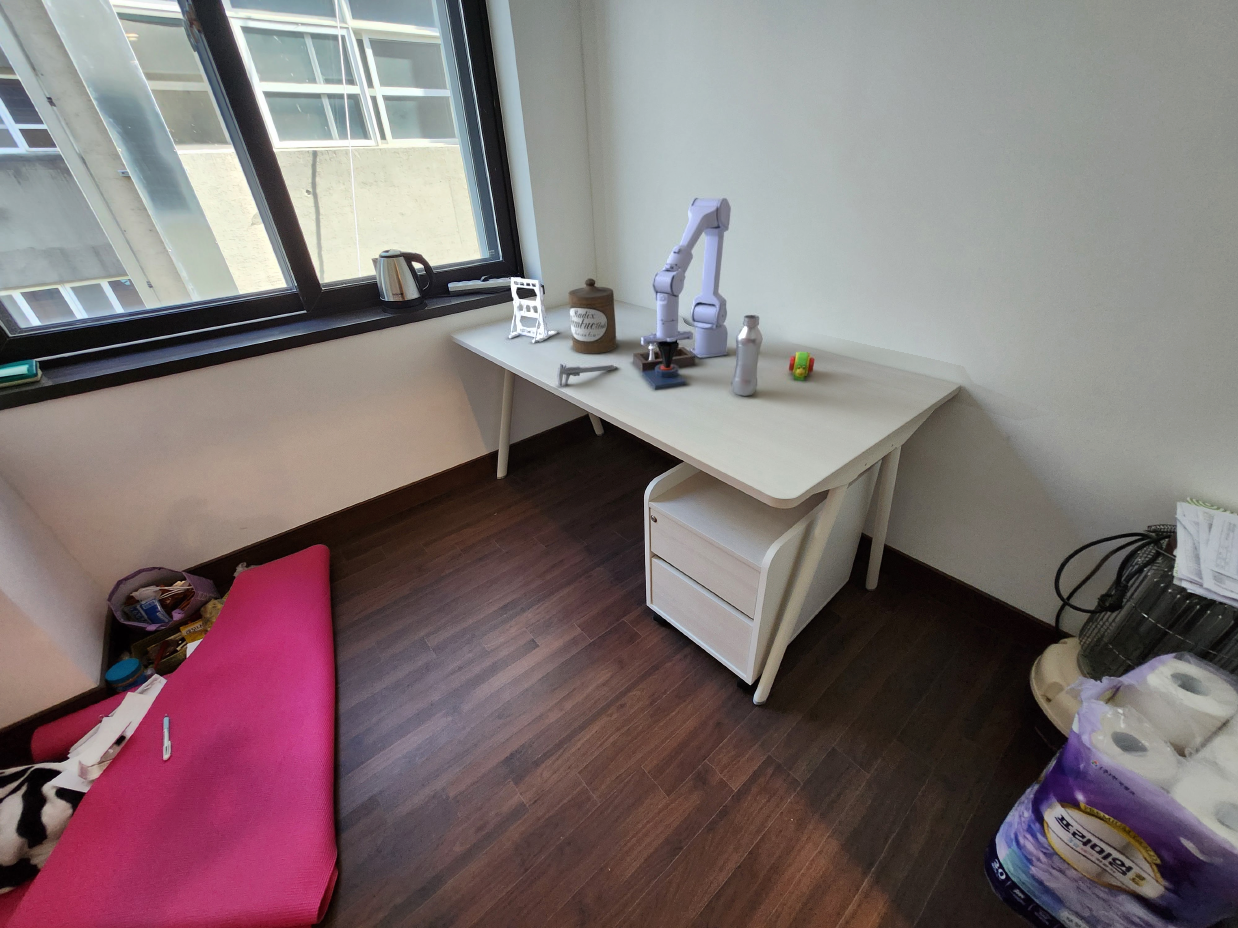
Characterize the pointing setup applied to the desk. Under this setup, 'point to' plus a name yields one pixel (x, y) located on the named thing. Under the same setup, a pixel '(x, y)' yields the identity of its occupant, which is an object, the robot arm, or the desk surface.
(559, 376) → the caliper
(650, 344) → the chess piece
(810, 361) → the green wheeled toy
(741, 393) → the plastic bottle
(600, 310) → the wooden container
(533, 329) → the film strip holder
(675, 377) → the station
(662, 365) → the station button
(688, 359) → the holder
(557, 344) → the desk surface
